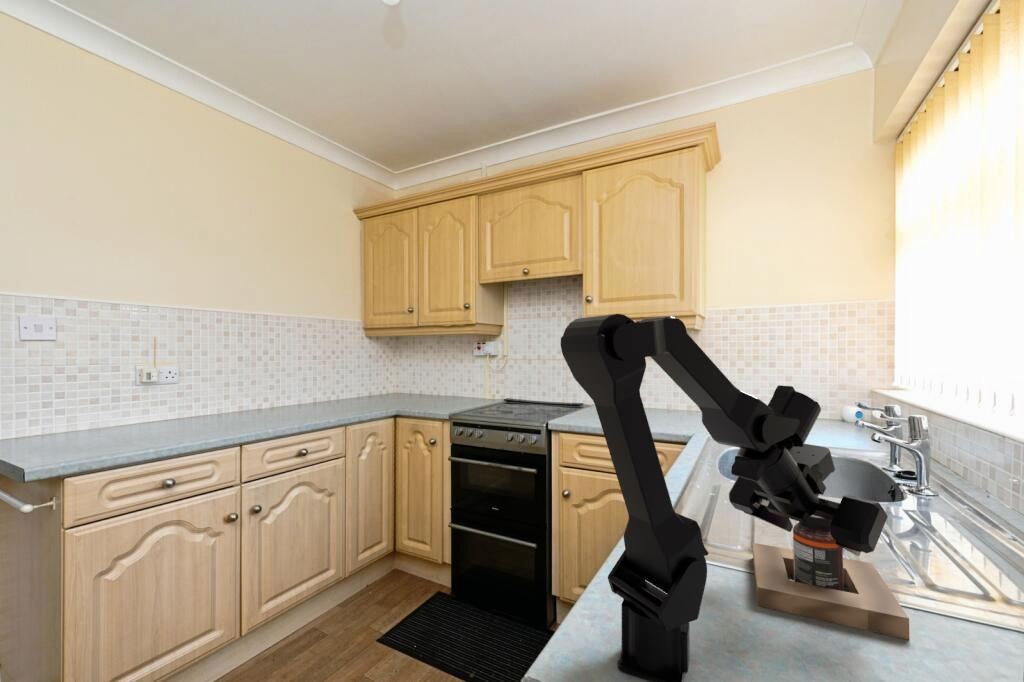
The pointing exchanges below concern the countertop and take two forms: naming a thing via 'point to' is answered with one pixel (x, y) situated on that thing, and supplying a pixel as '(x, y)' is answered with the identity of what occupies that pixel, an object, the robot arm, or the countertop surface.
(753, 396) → the robot arm
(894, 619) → the square wooden frame
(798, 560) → the supplement bottle
